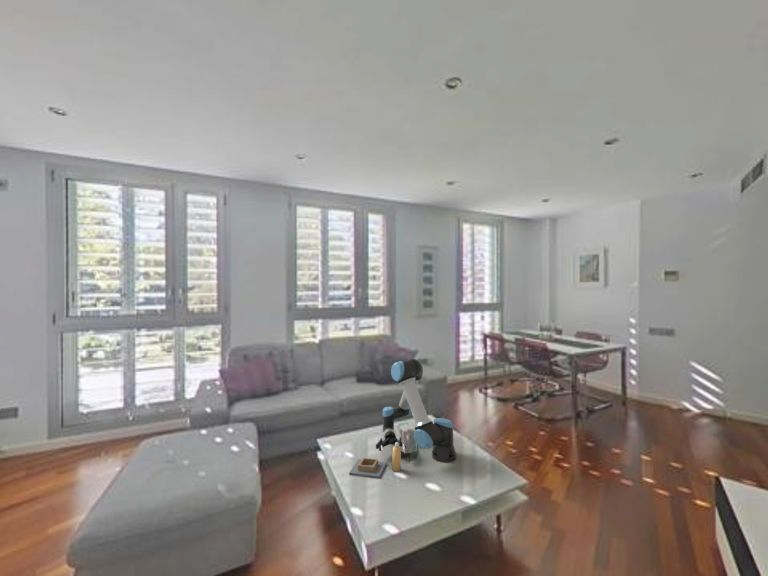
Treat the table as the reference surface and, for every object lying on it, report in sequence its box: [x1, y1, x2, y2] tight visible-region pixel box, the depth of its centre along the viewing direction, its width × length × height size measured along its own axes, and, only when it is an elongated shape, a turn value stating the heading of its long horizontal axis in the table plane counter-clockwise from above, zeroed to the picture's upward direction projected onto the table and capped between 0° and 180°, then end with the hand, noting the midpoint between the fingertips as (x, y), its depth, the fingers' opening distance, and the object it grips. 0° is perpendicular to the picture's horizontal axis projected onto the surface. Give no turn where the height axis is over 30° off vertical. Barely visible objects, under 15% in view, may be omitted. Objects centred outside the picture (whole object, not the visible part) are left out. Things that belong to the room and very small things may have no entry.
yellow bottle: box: [391, 442, 402, 472], centre depth 213 cm, size 5×5×16 cm
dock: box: [349, 457, 387, 479], centre depth 214 cm, size 18×16×4 cm
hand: (393, 451), depth 218 cm, fingers open, 13 cm apart
